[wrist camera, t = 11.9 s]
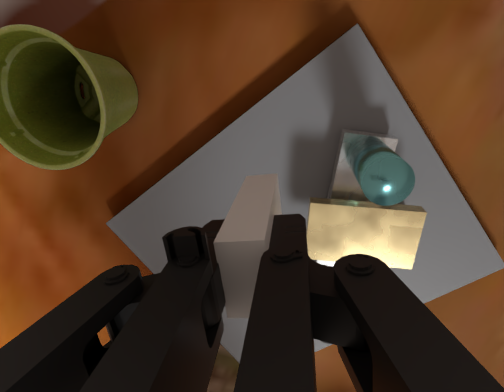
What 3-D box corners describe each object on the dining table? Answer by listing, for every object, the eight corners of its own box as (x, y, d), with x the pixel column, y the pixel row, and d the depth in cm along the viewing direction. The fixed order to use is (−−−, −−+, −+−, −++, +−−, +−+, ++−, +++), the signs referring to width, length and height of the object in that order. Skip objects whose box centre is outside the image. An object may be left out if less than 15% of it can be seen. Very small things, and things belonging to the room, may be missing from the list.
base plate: (496, 257, 30) (506, 266, 29) (255, 368, 40) (254, 378, 38) (354, 25, 25) (357, 23, 24) (113, 217, 34) (105, 223, 33)
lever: (347, 319, 33) (361, 392, 26) (298, 311, 33) (298, 380, 26) (398, 135, 26) (440, 164, 18) (335, 128, 26) (351, 152, 19)
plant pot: (162, 145, 31) (115, 173, 23) (70, 142, 32) (-6, 167, 24) (150, 35, 27) (90, 23, 19) (48, 36, 28) (-50, 25, 20)
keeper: (396, 242, 30) (411, 269, 26) (303, 233, 30) (304, 258, 27) (408, 191, 28) (427, 212, 24) (308, 184, 29) (310, 202, 25)
